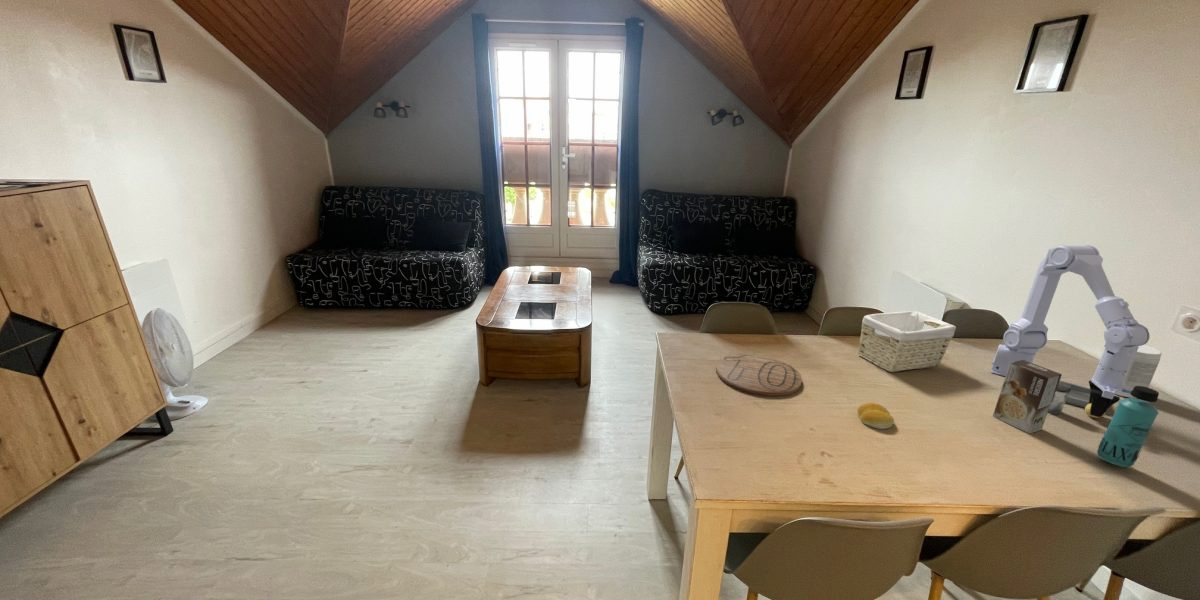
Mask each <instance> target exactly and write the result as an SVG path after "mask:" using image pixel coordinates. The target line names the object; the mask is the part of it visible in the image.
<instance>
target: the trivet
mask: <svg viewBox="0 0 1200 600" xmlns="http://www.w3.org/2000/svg"><path fill="white" fill-rule="evenodd" d="M715 371H716V372H715V373H716V375H717V376H718V378H719V379H720V380H721V381H722V382H723V383H724V384H726V385H727V386H729V387H731V388H733V389H735V390H737V391H740V392H743V393H745V394H749V395H754V396H759V397H766V398H767V397H769V398H770V397H772V398H779V397H780V398H781V397H787V396H790V395H793V394H795V393H796V392H798V391H799V390H800V388H801V386H802V382H803V378H802V375H801V374H800V372H799V371H798V370H797V369H796V368H794V367H793V366H792V365H791V364H788V363H786V362H785V361H782V360H779V359H777V358H774V357H771V356H766V355H763V354H757V353H734V354H729V355H726V356H723V357H722V358H720V359H719V360H718V361H717V362H716V370H715Z"/></svg>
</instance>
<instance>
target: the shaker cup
mask: <svg viewBox="0 0 1200 600" xmlns="http://www.w3.org/2000/svg"><path fill="white" fill-rule="evenodd" d="M1060 381H1061V380H1060ZM1060 381H1059V384H1058V386H1057V389H1056V392H1055V394H1054V397H1053V400H1052V403H1051V405H1050V408H1049V411H1048V414H1050V415H1054V416H1055V415H1056V416H1059V415H1061V414H1062V412H1063V409H1064V407H1065V404H1066V403H1065V402H1066V399H1067V397H1068V394H1069V392H1070V391H1071V388H1072V387H1071V386H1070V385H1068V384H1066V383H1063V382H1060Z"/></svg>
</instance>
